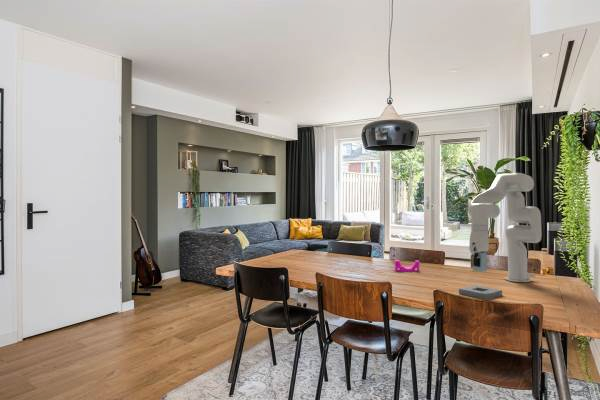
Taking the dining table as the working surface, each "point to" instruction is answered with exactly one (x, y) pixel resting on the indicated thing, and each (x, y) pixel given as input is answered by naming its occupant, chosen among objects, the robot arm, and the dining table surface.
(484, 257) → the peg
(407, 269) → the toy block
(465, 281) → the dining table surface
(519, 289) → the dining table surface
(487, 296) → the socket
